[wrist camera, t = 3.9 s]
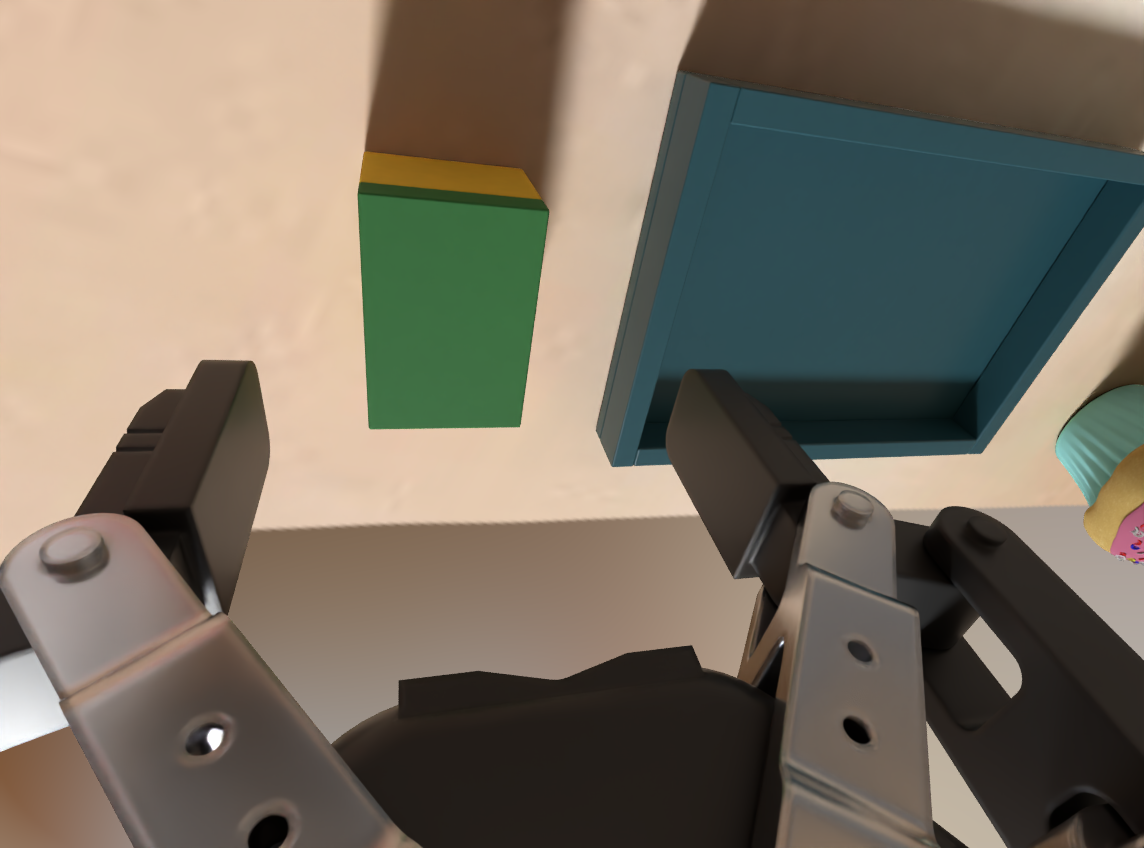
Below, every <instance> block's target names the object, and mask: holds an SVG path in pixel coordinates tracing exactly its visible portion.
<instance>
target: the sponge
mask: <svg viewBox="0 0 1144 848" xmlns="http://www.w3.org/2000/svg"><path fill="white" fill-rule="evenodd" d="M358 213H359V234H360V254H361V275H362V296H363V317H364V338H365V359H366V380H367V401H368V422H369V428H370V429H424V428H495V427H520V425H521V417H522V410H523V402H524V395H525V388H526V380H527V373H528V365H529V358H530V351H531V343H532V336H533V328H534V321H535V314H536V306H537V299H538V291H539V284H540V277H541V269H542V262H543V254H544V247H545V239H546V232H547V225H548V217H549V209H548V208H547V206H546V205H545V203H544V202H543V200H542V199H541V197H540V195H539V194H538V192H537V191H536V189H535V188H534V186H533V185H532V183H531V182H530V180H529V179H528V177H527V175H526V174H525V172H524V171H523V170H522V169H519V168H510V167H501V166H492V165H483V164H474V163H465V162H456V161H447V160H438V159H429V158H420V157H411V156H402V155H393V154H384V153H375V152H367V151H366V152H364V155H363V162H362V168H361V175H360V182H359V188H358Z"/></svg>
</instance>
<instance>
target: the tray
mask: <svg viewBox="0 0 1144 848" xmlns="http://www.w3.org/2000/svg"><path fill="white" fill-rule="evenodd" d="M1143 227H1144V152H1142V151H1139V150H1135V149H1131V148H1127V147H1121V146H1115V145H1109V144H1104V143H1098V142H1092V141H1086V140H1081V139H1075V138H1069V137H1063V136H1057V135H1052V134H1046V133H1040V132H1034V131H1029V130H1023V129H1017V128H1011V127H1005V126H1000V125H994V124H988V123H982V122H977V121H971V120H965V119H959V118H953V117H948V116H942V115H936V114H930V113H924V112H919V111H913V110H907V109H901V108H896V107H890V106H884V105H878V104H872V103H867V102H861V101H855V100H849V99H844V98H838V97H832V96H826V95H820V94H815V93H809V92H803V91H797V90H792V89H786V88H780V87H774V86H768V85H763V84H757V83H751V82H745V81H740V80H734V79H728V78H722V77H716V76H711V75H705V74H699V73H693V72H688V71H682V70H680V71H678V73H677V76H676V81H675V85H674V90H673V94H672V98H671V103H670V107H669V111H668V116H667V120H666V125H665V129H664V133H663V138H662V142H661V147H660V151H659V155H658V160H657V164H656V169H655V173H654V177H653V182H652V186H651V191H650V195H649V199H648V204H647V208H646V213H645V217H644V221H643V226H642V230H641V235H640V239H639V243H638V248H637V252H636V257H635V261H634V265H633V270H632V274H631V279H630V283H629V287H628V292H627V296H626V301H625V305H624V309H623V314H622V318H621V323H620V327H619V331H618V336H617V340H616V345H615V349H614V353H613V358H612V362H611V366H610V371H609V375H608V380H607V384H606V388H605V393H604V397H603V402H602V406H601V410H600V415H599V419H598V424H597V428H596V432H597V434H598V436H599V438H600V441H601V444H602V446H603V448H604V450H605V453H606V455H607V457H608V459H609V462H610V464H611V466H612V467H624V466H633V465H634V466H644V465H672V463H671V461H670V459H669V457H668V454H667V450H666V432H667V427H668V424H669V421H670V418H671V414H672V411H673V408H674V404H675V401H676V398H677V394H678V391H679V388H680V384H681V381H682V378H683V376H684V374H685V373H686V371H688V370H689V369H724V370H726V371H728V372H729V373H730V375H731V376H732V377H733V378H734V380H735V381H736V382H737V383H738V385H739V386H740V387H741V388H742V390H743V391H744V392H745V393H748V394H750V395H751V396H753V397H754V398H756V399H757V400H758V401H760V402H761V403H763V404H764V405H766V406H767V407H768V408H769V409H770V410H771V411H772V413H773V414H774V415H775V416H776V417H777V419H778V420H779V421H780V422H781V427H785V428H786V429H787V431H788V432H789V433H790V434H791V435H792V440H796V441H797V443H798V444H799V445H800V446H801V447H802V449H803V450H804V451H805V452H806V454H807V455H808V456H809V457H810V458H811V460H817V459H845V458H874V457H903V456H931V455H960V454H967V453H968V454H981V453H982V452H983V451H984V450H985V448H986V447H987V445H988V444H989V443H990V441H991V440H992V438H993V437H994V436H995V434H996V433H997V431H998V430H999V429H1000V427H1001V426H1002V424H1003V423H1004V422H1005V420H1006V419H1007V417H1008V416H1009V415H1010V413H1011V412H1012V410H1013V409H1014V408H1015V406H1016V405H1017V403H1018V402H1019V401H1020V399H1021V398H1022V396H1023V395H1024V394H1025V392H1026V391H1027V389H1028V388H1029V387H1030V385H1031V384H1032V382H1033V381H1034V380H1035V378H1036V377H1037V375H1038V374H1039V373H1040V371H1041V370H1042V368H1043V367H1044V366H1045V364H1046V363H1047V361H1048V360H1049V359H1050V357H1051V356H1052V354H1053V353H1054V352H1055V350H1056V349H1057V347H1058V346H1059V345H1060V343H1061V342H1062V340H1063V339H1064V338H1065V336H1066V335H1067V333H1068V332H1069V331H1070V329H1071V328H1072V326H1073V325H1074V324H1075V322H1076V321H1077V319H1078V318H1079V317H1080V315H1081V314H1082V312H1083V311H1084V310H1085V308H1086V307H1087V305H1088V304H1089V303H1090V301H1091V300H1092V299H1093V297H1094V296H1095V294H1096V293H1097V292H1098V290H1099V289H1100V287H1101V286H1102V285H1103V283H1104V282H1105V280H1106V279H1107V278H1108V276H1109V275H1110V273H1111V272H1112V271H1113V269H1114V268H1115V266H1116V265H1117V264H1118V262H1119V261H1120V259H1121V258H1122V257H1123V255H1124V254H1125V252H1126V251H1127V250H1128V248H1129V247H1130V245H1131V244H1132V243H1133V241H1134V240H1135V238H1136V237H1137V236H1138V234H1139V233H1140V231H1141V230H1142V229H1143Z"/></svg>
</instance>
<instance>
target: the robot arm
mask: <svg viewBox="0 0 1144 848" xmlns="http://www.w3.org/2000/svg"><path fill="white" fill-rule="evenodd" d="M666 450H667V454H668V457H669V459H670V461H671V463H672V465H673V467H674V469H675V471H676V473H677V474H678V476H679V478H680V480H681V482H682V484H683V485H684V487H685V489H686V491H687V493H688V495H689V497H690V498H691V500H692V502H693V504H694V506H695V508H696V510H697V511H698V513H699V515H700V517H701V519H702V521H703V523H704V524H705V526H706V528H707V530H708V532H709V534H710V535H711V537H712V539H713V541H714V543H715V545H716V547H717V548H718V550H719V552H720V554H721V556H722V558H723V559H724V561H725V563H726V565H727V567H728V569H729V571H730V572H731V574H732V576H733V578H734V579H741V578H753V577H759V578H760V580H761V581H762V583H763V585H762V587H761V589H760V591H759V593H758V595H757V598H756V602H755V607H754V611H753V615H752V619H751V623H750V628H749V632H748V636H747V641H746V644H745V649H744V653H743V657H742V662H741V665H740V669H739V673H738V676H737V678H736V677H733V676H730V675H728V674H725V673H721V672H717V671H714V670H710V669H706V668H701V665H700V663H699V661H698V658H697V656H696V654H695V652H694V649H693V647H692V646H682V647H674V648H666V649H657V650H649V651H640V652H632V653H626V654H624V655H621V656H619V657H616V658H614V659H611V660H609V661H606V662H604V663H602V664H599V665H597V666H594V667H592V668H589V669H587V670H584V671H582V672H580V673H577V674H575V675H572V676H570V677H568V678H564V679H560V680H549V679H541V678H532V677H523V676H516V675H507V674H499V673H491V672H483V671H474V672H465V673H458V674H449V675H441V676H432V677H424V678H416V679H407V680H399V705H397V706H394V707H392V708H389V709H387V710H385V711H382V712H380V713H378V714H376V715H374V716H372V717H370V718H368V719H366V720H365V721H363V722H361V723H359V724H358V725H356V726H355V727H353V728H352V729H350V730H349V731H347V732H346V733H345V734H343V735H342V736H341V737H339V738H338V739H337V740H336V741H335V742H333V743H332V744H330V743H329V742H328V740H327V739H326V738H325V736H324V735H323V734H322V733H321V731H320V730H319V729H318V728H317V727H316V725H315V724H314V723H313V721H312V720H311V719H310V718H309V716H308V715H307V714H306V713H305V711H304V710H303V709H302V708H301V707H300V705H299V704H298V703H297V701H296V700H295V699H294V698H293V697H292V695H291V694H290V693H289V692H288V690H287V689H286V688H285V686H284V685H283V684H282V683H281V681H280V680H279V679H278V678H277V676H276V675H275V674H274V673H273V671H272V670H271V669H270V668H269V667H268V665H267V664H266V663H265V661H264V660H263V659H262V658H261V656H260V655H259V654H258V653H257V652H256V650H255V649H254V648H253V647H252V645H251V644H250V643H249V642H248V640H247V639H246V638H245V636H244V635H243V634H242V633H241V631H240V630H239V629H238V628H237V627H236V625H235V624H234V623H233V622H232V621H231V620H230V618H229V617H228V612H229V609H230V605H231V601H232V598H233V594H234V591H235V587H236V583H237V580H238V576H239V572H240V569H241V565H242V561H243V558H244V554H245V550H246V547H247V543H248V540H249V536H250V532H251V529H252V525H253V521H254V518H255V514H256V511H257V507H258V503H259V500H260V496H261V492H262V489H263V485H264V481H265V478H266V474H267V470H268V466H269V458H270V440H269V432H268V427H267V421H266V416H265V410H264V405H263V400H262V394H261V389H260V383H259V378H258V373H257V369H256V366H255V364H254V362H253V361H235V360H202V361H201V362H200V363H199V364H198V366H197V368H196V370H195V372H194V374H193V376H192V378H191V380H190V382H189V384H188V385H187V387H186V389H166V390H164V391H163V392H162V393H160V394H159V395H157V396H156V397H155V398H153V399H152V400H150V401H149V402H147V403H146V404H145V405H143V406H142V407H140V409H139V410H138V412H137V414H136V415H135V417H134V418H133V420H132V422H131V423H130V425H129V427H128V428H127V434H124V435H123V437H122V438H121V440H120V442H119V443H118V445H117V447H116V452H113V453H112V455H111V456H110V458H109V460H108V461H107V463H106V465H105V466H104V468H103V470H102V471H101V473H100V475H99V476H98V478H97V480H96V481H95V483H94V485H93V486H92V488H91V489H90V491H89V493H88V494H87V496H86V498H85V499H84V501H83V503H82V504H81V506H80V508H79V509H78V511H77V513H76V514H75V516H74V517H71V518H67V519H64V520H62V521H59V522H56V523H53V524H51V525H49V526H46V527H44V528H42V529H40V530H39V531H37V532H35V533H33V534H31V535H30V536H28V537H27V538H26V539H24V540H23V541H21V542H20V543H19V544H18V545H17V546H16V547H14V548H13V549H12V550H11V552H10V553H9V554H8V555H7V556H6V557H5V559H4V561H3V562H2V564H1V566H0V751H3V750H6V749H8V748H11V747H13V746H16V745H19V744H22V743H24V742H27V741H30V740H32V739H35V738H37V737H40V736H43V735H46V734H48V733H51V732H54V731H56V730H59V729H62V728H64V727H67V726H70V727H71V729H72V731H73V733H74V735H75V737H76V739H77V741H78V743H79V745H80V746H81V748H82V750H83V752H84V754H85V756H86V758H87V760H88V761H89V763H90V765H91V767H92V769H93V771H94V773H95V775H96V777H97V779H98V781H99V782H100V784H101V786H102V788H103V790H104V792H105V794H106V796H107V797H108V799H109V801H110V803H111V805H112V807H113V809H114V811H115V813H116V815H117V816H118V818H119V820H120V822H121V824H122V826H123V828H124V830H125V832H126V833H127V835H128V837H129V839H130V841H131V843H132V845H133V847H134V848H968V847H967V846H965V844H963V843H962V842H961V841H959V840H958V839H957V838H955V837H954V836H953V835H951V834H950V833H949V832H948V831H946V830H945V829H944V828H942V827H941V826H940V825H938V824H937V823H936V822H935V821H933V820H932V807H931V792H930V776H929V759H928V745H927V728H926V721H927V722H928V724H929V726H930V727H931V729H932V730H933V732H934V733H935V735H936V737H937V738H938V740H939V741H940V743H941V744H942V746H943V748H944V749H945V751H946V752H947V754H948V755H949V757H950V759H951V760H952V762H953V763H954V765H955V766H956V768H957V770H958V771H959V772H960V774H961V776H962V777H963V779H964V780H965V782H966V784H967V785H968V787H969V788H970V790H971V791H972V793H973V795H974V796H975V798H976V799H977V800H978V802H979V804H980V805H981V807H982V809H983V810H984V812H985V813H986V815H987V817H988V818H989V820H990V821H991V823H992V824H993V826H994V827H995V829H996V831H997V832H998V834H999V835H1000V837H1001V838H1002V840H1003V841H1004V843H1005V845H1006V846H1007V848H1144V660H1143V659H1142V658H1141V657H1140V656H1139V655H1138V654H1137V653H1136V652H1135V651H1134V650H1133V649H1132V648H1131V647H1129V646H1128V644H1127V643H1126V642H1124V640H1122V638H1121V637H1119V635H1117V634H1116V633H1115V632H1114V631H1113V630H1112V629H1111V628H1110V627H1109V626H1108V625H1107V624H1106V623H1105V622H1104V621H1103V620H1102V619H1101V618H1100V617H1099V616H1098V615H1097V614H1096V613H1095V612H1094V611H1093V610H1092V609H1091V608H1090V607H1089V606H1088V605H1087V604H1086V603H1085V602H1084V601H1083V600H1082V599H1081V598H1080V597H1079V596H1078V595H1077V594H1076V593H1075V592H1074V591H1073V590H1072V589H1071V588H1070V587H1069V586H1068V585H1067V584H1066V583H1065V582H1064V581H1063V580H1062V579H1061V578H1060V577H1059V576H1058V575H1057V574H1056V573H1055V572H1054V571H1052V569H1051V568H1050V567H1048V565H1047V564H1045V563H1044V562H1043V561H1042V560H1041V559H1040V558H1039V557H1038V556H1037V555H1036V554H1035V553H1034V552H1033V551H1032V550H1031V549H1030V548H1029V547H1028V546H1027V545H1026V544H1025V543H1024V542H1023V541H1022V540H1021V539H1020V538H1019V537H1018V536H1017V535H1016V534H1015V533H1014V532H1013V531H1012V530H1010V529H1009V528H1008V527H1007V526H1005V525H1004V524H1002V523H1001V522H999V521H998V520H996V519H994V518H992V517H990V516H988V515H986V514H984V513H982V512H979V511H977V510H974V509H970V508H966V507H959V506H951V507H947V508H944V509H943V510H941V512H940V513H939V514H938V516H937V517H936V519H935V520H934V521H933V523H932V524H931V526H930V527H929V526H924V525H919V524H914V523H908V522H904V521H898V520H894V519H893V517H892V515H891V514H890V512H889V511H888V509H887V508H886V507H885V506H884V505H883V504H882V503H881V502H880V501H878V500H877V499H876V498H875V497H873V496H872V495H870V494H868V493H867V492H865V491H863V490H861V489H859V488H856V487H854V486H851V485H848V484H844V483H839V482H830V481H829V480H828V479H827V478H826V476H825V475H824V474H823V473H822V472H821V470H820V469H819V468H818V467H817V466H816V464H815V463H814V462H813V461H812V460H811V458H810V457H809V456H808V455H807V454H806V452H805V451H804V450H803V449H802V447H801V446H800V445H799V444H798V443H797V441H796V440H792V435H791V434H790V433H789V432H788V431H787V429H786V428H785V427H781V422H780V421H779V420H778V419H777V417H776V416H775V415H774V414H773V413H772V411H771V410H770V409H769V408H768V407H767V406H766V405H764V404H763V403H761V402H760V401H758V400H757V399H756V398H754V397H753V396H751V395H750V394H748V393H745V392H744V391H743V390H742V388H741V387H740V386H739V385H738V383H737V382H736V381H735V380H734V378H733V377H732V376H731V375H730V373H729V372H728V371H726V370H724V369H689V370H688V371H686V373H685V374H684V376H683V378H682V381H681V384H680V388H679V391H678V394H677V398H676V401H675V404H674V408H673V411H672V414H671V418H670V421H669V424H668V427H667V432H666ZM980 616H981V617H982V619H983V620H984V621H985V622H986V623H987V625H988V626H989V627H990V628H991V630H992V631H993V632H994V633H995V634H996V635H997V637H998V638H999V639H1000V640H1001V642H1002V643H1003V644H1004V645H1005V646H1006V648H1007V649H1008V650H1009V651H1010V652H1011V654H1012V655H1013V656H1014V658H1015V659H1016V661H1017V662H1018V664H1019V667H1020V669H1021V673H1022V685H1021V688H1020V690H1019V691H1018V693H1017V694H1016V695H1015V696H1013V697H1012V698H1010V697H1009V695H1008V694H1007V693H1006V691H1005V690H1004V689H1003V688H1002V686H1001V685H1000V684H999V683H998V681H997V680H996V678H995V677H994V676H993V675H992V673H991V672H990V671H989V669H988V668H987V667H986V666H985V664H984V663H983V662H982V661H981V660H980V658H979V657H978V655H977V654H976V653H975V652H974V650H973V649H972V648H971V646H970V645H969V644H968V642H967V641H966V640H965V639H964V637H963V635H964V634H965V632H966V631H967V630H968V629H969V628H970V627H971V626H972V624H973V623H974V622H975V621H976V620H977V619H978V618H979V617H980Z"/></svg>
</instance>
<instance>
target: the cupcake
mask: <svg viewBox="0 0 1144 848" xmlns="http://www.w3.org/2000/svg"><path fill="white" fill-rule="evenodd" d="M1055 451H1056V455H1057V457H1058V459H1059V460H1060V461H1061V463H1062V464H1063V465H1064V467H1065V468H1066V469H1067V471H1068V472H1069V473H1070V475H1071V476H1072V478H1073V479H1074V480H1075V482H1076V483H1077V485H1078V486H1079V488H1080V489H1081V491H1082V493H1083V494H1084V496H1085V498H1086V500H1087V502H1088V504H1089V506H1090V507H1089V508H1088V509H1087V511H1086V512H1085V515H1084V527H1085V529H1086V531H1087V533H1088V534H1089V536H1090V537H1091V538H1092V539H1093V540H1094V541H1095V542H1096V544H1097V545H1099V546H1100V547H1101V548H1103V549H1104V550H1106V551H1108V552H1110V553H1111V554H1113V555H1114V556H1116V557H1117V558H1118V560H1130V561H1131V563H1133V564H1139V563H1141V564H1142V565H1144V386H1143V385H1126V386H1122V387H1119V388H1116V389H1113V390H1111V391H1109V392H1107V393H1105V394H1103V395H1101V396H1100V397H1098V398H1096V399H1095V400H1093V401H1092V402H1090V403H1089V404H1088V405H1086V406H1085V407H1084V408H1083V409H1081V410H1080V411H1079V412H1078V413H1077V414H1076V415H1075V416H1074V417H1073V418H1072V419H1071V420H1070V421H1069V422H1068V424H1067V425H1066V426H1065V428H1064V429H1063V431H1062V432H1061V434H1060V436H1059V438H1058V440H1057V443H1056V449H1055Z"/></svg>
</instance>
